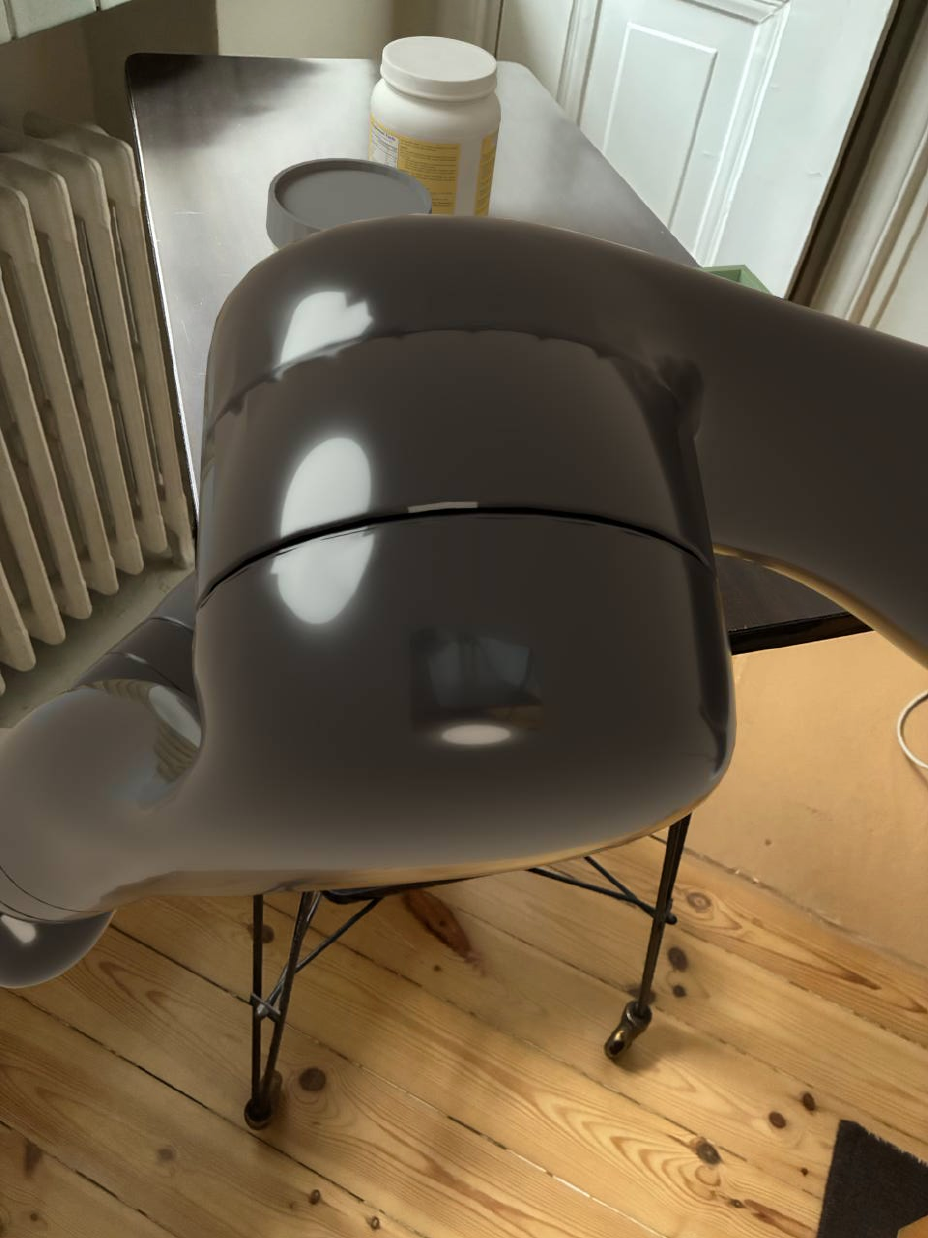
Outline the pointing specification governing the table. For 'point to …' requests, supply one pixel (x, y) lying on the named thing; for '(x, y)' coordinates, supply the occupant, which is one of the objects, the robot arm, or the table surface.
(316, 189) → the reusable coffee cup
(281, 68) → the table surface
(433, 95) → the supplement tub
